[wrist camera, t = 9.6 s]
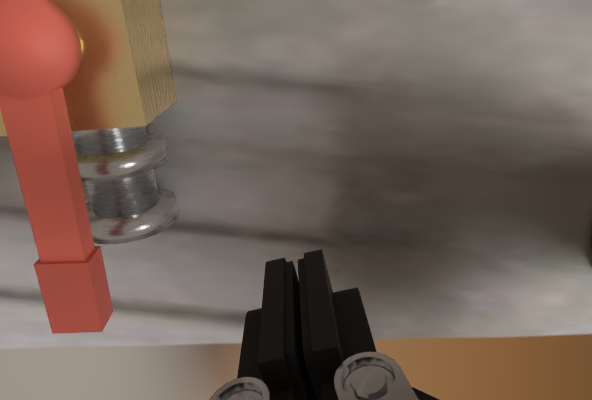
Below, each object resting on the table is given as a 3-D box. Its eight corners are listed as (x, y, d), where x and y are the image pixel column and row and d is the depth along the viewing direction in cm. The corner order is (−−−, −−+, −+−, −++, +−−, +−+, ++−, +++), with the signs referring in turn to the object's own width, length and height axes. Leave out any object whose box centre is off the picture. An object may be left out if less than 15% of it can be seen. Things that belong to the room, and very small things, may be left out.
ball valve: (125, -198, 21) (40, -340, 13) (192, 199, 29) (166, 262, 21) (-16, -193, 20) (-196, -336, 12) (94, 207, 29) (30, 274, 21)
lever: (128, 310, 22) (118, 330, 21) (51, 313, 22) (35, 334, 20) (71, -11, 16) (52, -15, 15) (-36, -13, 16) (-67, -18, 14)
